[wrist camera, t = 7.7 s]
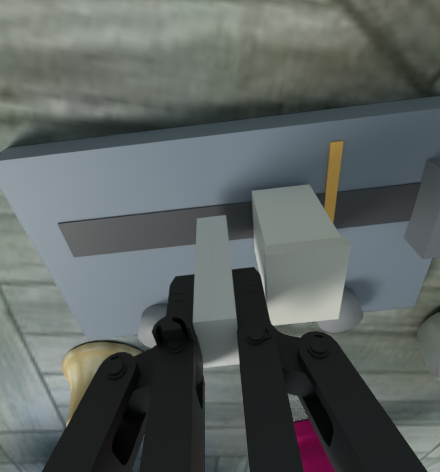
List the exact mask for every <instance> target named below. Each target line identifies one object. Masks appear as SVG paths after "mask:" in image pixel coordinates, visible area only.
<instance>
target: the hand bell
mask: <svg viewBox="0 0 440 472" xmlns="http://www.w3.org/2000/svg"><path fill="white" fill-rule="evenodd" d="M117 352H127V353H130V354H131V355H132V356H136V355H138V354H141V353H143V352H142V351H140V350H138V349H136V348H134V347H131V346H128V345H125V344H119V343H111V342H95V343H87V344H84V345H81V346H78V347H76V348H74V349H72V350H71V351H69V352H68V353H67V354H66V356H65V357H64V359H63V363H62V368H63V373H64V375H65V377H66V379H67V380H68V382H69V384H70V390H71V401H70V408H69V413H68V418H67V423H66V427H67V425H68V423H69V421H70V419H71V417H72V416H73V414H74V412H75V410H76V408H77V406H78V405H79V403H80V401H81V399H82V397H83V395H84V394H85V392H86V390H87V388H88V386H89V384H90V382H91V381H92V379H93V377H94V375H95V373H96V371H97V370H98V368H99V366H100V365H101V363H102V362H103V361H104V360H105V359H106V358H108V357H109V356H110V355H112V354H115V353H117Z"/></svg>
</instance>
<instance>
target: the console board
mask: <svg viewBox="0 0 440 472" xmlns="http://www.w3.org/2000/svg"><path fill="white" fill-rule="evenodd" d="M307 184H310V186H311V188H312V189H313V191H314V193H315V194H316V196H317V198H318V199H319V201H320V203H321V204H322V206H323V208H324V209H325V211H326V213H327V214H328V216H329V218H330V219H331V221H332V223H333V224H334V226H335V228H336V229H337V231H338V233H339V234H340V236H341V237H346V239H347V240H348V242H349V243H350V245H351V250H350V255H349V261H348V267H347V273H346V278H345V284H344V290H343V295H342V301H341V307H340V312H339V318H338V319H334V320H324V321H317V324H318V326H319V327H320V328H321V329H322V330H324V331H326V332H331V333H337V332H343V331H346V330H349V329H351V328H353V327H355V326H356V325H357V324H358V323H359V322H360V321H361V320H362V318H363V312H368V311H378V310H388V309H398V308H408V307H414V306H415V303H416V301H417V298H418V295H419V293H420V290H421V287H422V285H423V282H424V279H425V277H426V274H427V271H428V269H429V266H430V264H431V261H432V258H440V96H433V97H425V98H416V99H408V100H400V101H392V102H383V103H375V104H367V105H358V106H350V107H342V108H334V109H325V110H317V111H309V112H300V113H292V114H284V115H276V116H267V117H259V118H251V119H242V120H234V121H226V122H217V123H209V124H201V125H193V126H184V127H176V128H168V129H159V130H151V131H143V132H135V133H126V134H118V135H110V136H101V137H93V138H85V139H77V140H68V141H60V142H52V143H43V144H35V145H27V146H18V147H10V148H6V149H5V150H3V151H2V152H0V188H1V190H2V192H3V193H4V195H5V197H6V199H7V200H8V202H9V204H10V205H11V207H12V209H13V211H14V212H15V214H16V216H17V218H18V219H19V221H20V223H21V225H22V226H23V228H24V230H25V232H26V233H27V235H28V237H29V238H30V240H31V242H32V244H33V245H34V247H35V249H36V251H37V252H38V254H39V256H40V258H41V259H42V261H43V263H44V265H45V266H46V268H47V270H48V272H49V273H50V275H51V277H52V278H53V280H54V282H55V284H56V285H57V287H58V289H59V291H60V292H61V294H62V296H63V298H64V299H65V301H66V303H67V305H68V306H69V308H70V310H71V312H72V313H73V315H74V317H75V318H76V320H77V322H78V324H79V325H80V327H81V329H82V331H83V332H84V334H85V336H86V338H87V339H88V340H89V339H99V338H109V337H119V336H129V335H138V338H139V340H140V341H141V343H143V344H144V345H145V346H147V347H150V348H153V347H154V346H155V345H156V342H155V339H154V337H153V334H152V330H153V327H154V325H155V324H156V323H157V322H158V321H159V320H160V319H162V318H163V317H165V316H166V311H167V304H168V296H169V288H170V284H171V282H172V281H173V279H174V278H175V276H182V275H191V274H195V253H196V228H197V218H205V217H213V216H222V215H226V220H227V229H228V237H229V245H230V254H231V263H232V269H239V268H248V267H255V269H256V270H257V271H258V272H259V269H258V264H257V259H256V255H255V247H254V228H253V210H252V191H254V190H263V189H272V188H281V187H289V186H298V185H307Z"/></svg>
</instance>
